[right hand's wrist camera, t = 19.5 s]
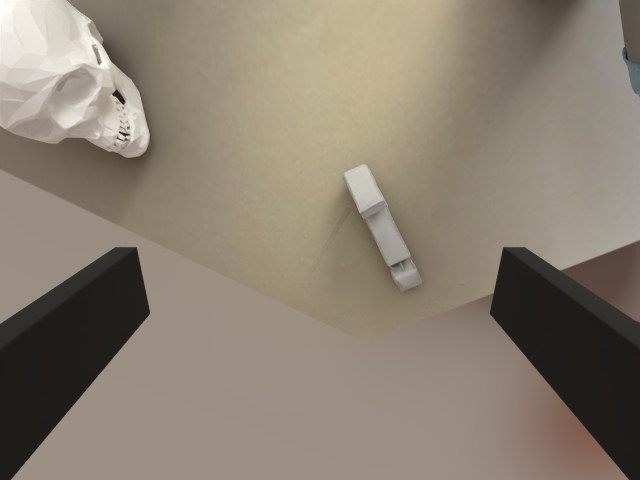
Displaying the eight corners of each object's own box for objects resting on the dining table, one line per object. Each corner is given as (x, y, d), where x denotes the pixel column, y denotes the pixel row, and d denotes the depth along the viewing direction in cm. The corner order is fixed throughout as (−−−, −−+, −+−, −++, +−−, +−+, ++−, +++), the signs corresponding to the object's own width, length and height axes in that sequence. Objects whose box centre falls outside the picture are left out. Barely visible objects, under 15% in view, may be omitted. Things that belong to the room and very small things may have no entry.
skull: (121, 180, 47) (35, 209, 32) (-22, 41, 41) (-209, -3, 26) (188, 116, 45) (127, 114, 30) (46, -42, 39) (-119, -143, 24)
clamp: (339, 172, 47) (345, 187, 40) (364, 159, 46) (373, 172, 40) (394, 280, 55) (406, 306, 49) (416, 270, 54) (430, 295, 48)
